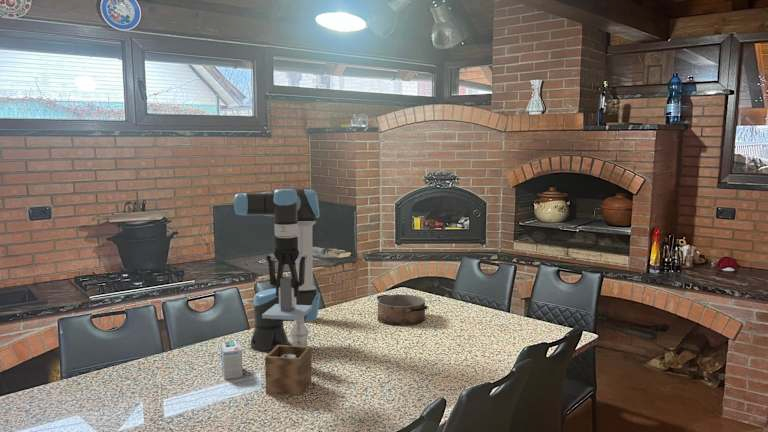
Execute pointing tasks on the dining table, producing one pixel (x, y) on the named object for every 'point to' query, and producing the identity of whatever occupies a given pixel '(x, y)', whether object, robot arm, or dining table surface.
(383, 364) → the dining table surface
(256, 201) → the robot arm
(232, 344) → the light bulb box
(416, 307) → the cooking pot
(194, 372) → the dining table surface
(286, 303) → the lid
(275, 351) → the crate
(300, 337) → the plastic bottle
